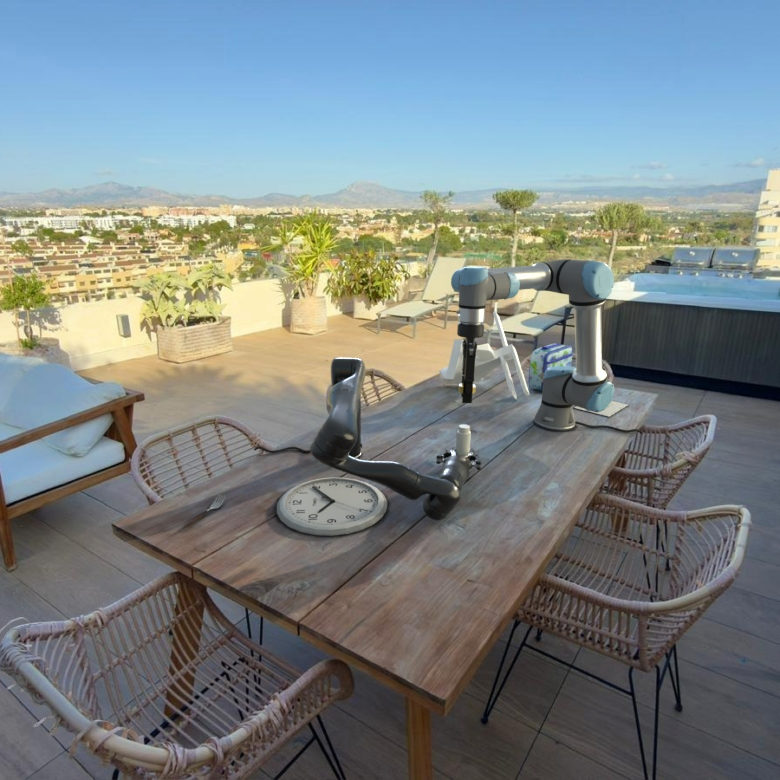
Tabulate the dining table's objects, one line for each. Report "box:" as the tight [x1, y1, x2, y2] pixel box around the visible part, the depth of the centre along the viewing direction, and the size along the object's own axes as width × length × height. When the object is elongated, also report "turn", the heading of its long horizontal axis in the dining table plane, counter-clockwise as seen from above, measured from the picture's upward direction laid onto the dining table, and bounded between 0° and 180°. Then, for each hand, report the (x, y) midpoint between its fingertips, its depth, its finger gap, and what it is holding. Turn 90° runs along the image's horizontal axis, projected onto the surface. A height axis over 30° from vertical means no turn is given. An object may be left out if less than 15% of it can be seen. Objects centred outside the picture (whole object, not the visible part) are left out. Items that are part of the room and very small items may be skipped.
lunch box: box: [528, 343, 574, 392], centre depth 249 cm, size 26×11×21 cm, turn 134°
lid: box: [457, 383, 477, 395], centre depth 155 cm, size 5×5×2 cm
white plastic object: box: [438, 310, 531, 400], centre depth 245 cm, size 37×45×31 cm
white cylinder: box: [455, 423, 472, 456], centre depth 161 cm, size 4×4×16 cm
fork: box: [182, 493, 227, 529], centre depth 136 cm, size 3×16×2 cm, turn 160°
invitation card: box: [573, 400, 629, 418], centre depth 226 cm, size 21×1×15 cm
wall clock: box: [276, 476, 388, 537], centre depth 142 cm, size 30×2×30 cm
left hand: (463, 450), depth 164 cm, fingers closed on white cylinder, 4 cm apart
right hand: (466, 399), depth 156 cm, fingers closed on lid, 5 cm apart
